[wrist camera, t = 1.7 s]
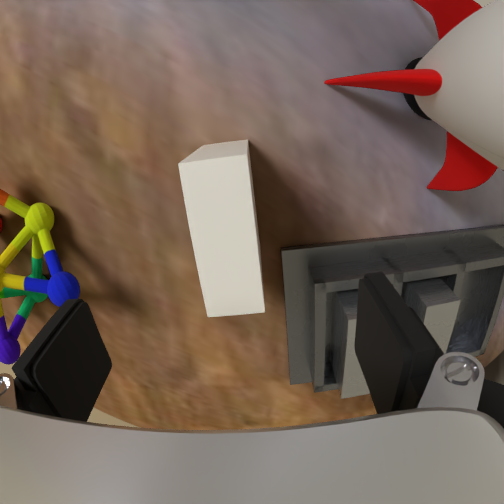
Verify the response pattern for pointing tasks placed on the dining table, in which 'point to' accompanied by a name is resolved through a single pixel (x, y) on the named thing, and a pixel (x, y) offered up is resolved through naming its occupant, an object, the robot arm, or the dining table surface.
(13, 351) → the decorative model
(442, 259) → the rack
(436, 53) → the rocket
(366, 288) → the robot arm
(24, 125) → the dining table surface
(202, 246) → the block
